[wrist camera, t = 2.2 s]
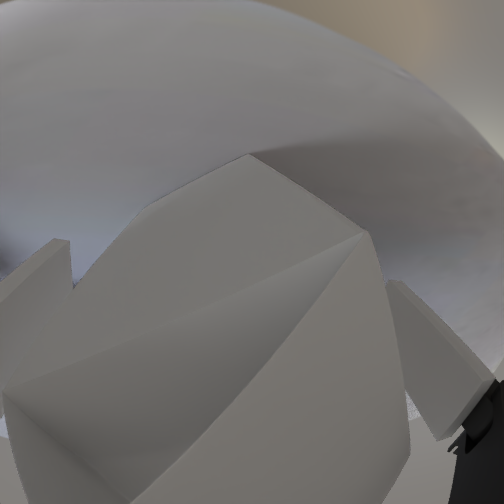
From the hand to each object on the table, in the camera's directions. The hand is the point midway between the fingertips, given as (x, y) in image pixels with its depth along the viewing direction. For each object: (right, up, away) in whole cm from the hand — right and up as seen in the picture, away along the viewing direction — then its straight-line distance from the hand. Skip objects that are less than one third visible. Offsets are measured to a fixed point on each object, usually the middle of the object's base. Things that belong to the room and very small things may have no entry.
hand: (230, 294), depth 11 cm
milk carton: (-1, +3, +8) cm, 8 cm away
